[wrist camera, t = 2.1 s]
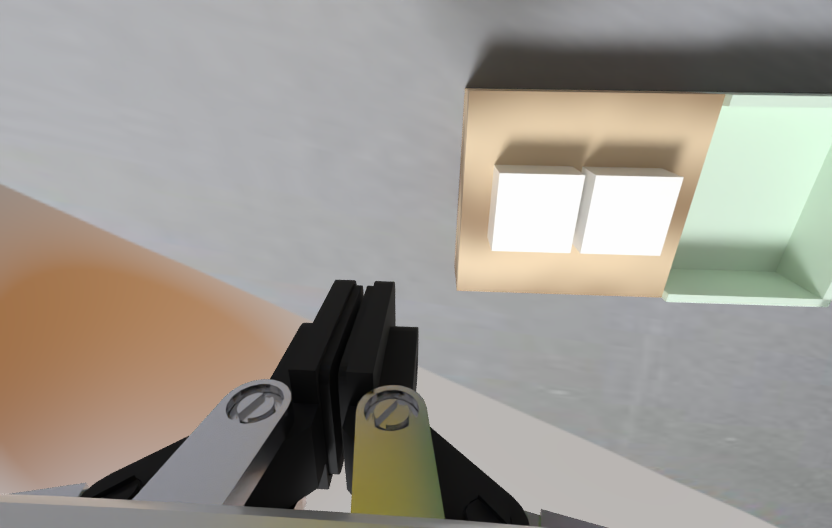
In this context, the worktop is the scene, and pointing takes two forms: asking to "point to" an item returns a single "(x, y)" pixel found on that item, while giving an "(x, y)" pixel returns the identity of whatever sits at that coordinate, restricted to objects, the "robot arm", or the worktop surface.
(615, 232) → the tile
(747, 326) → the worktop surface
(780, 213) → the bin
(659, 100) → the oak plate
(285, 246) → the worktop surface
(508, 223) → the tile
